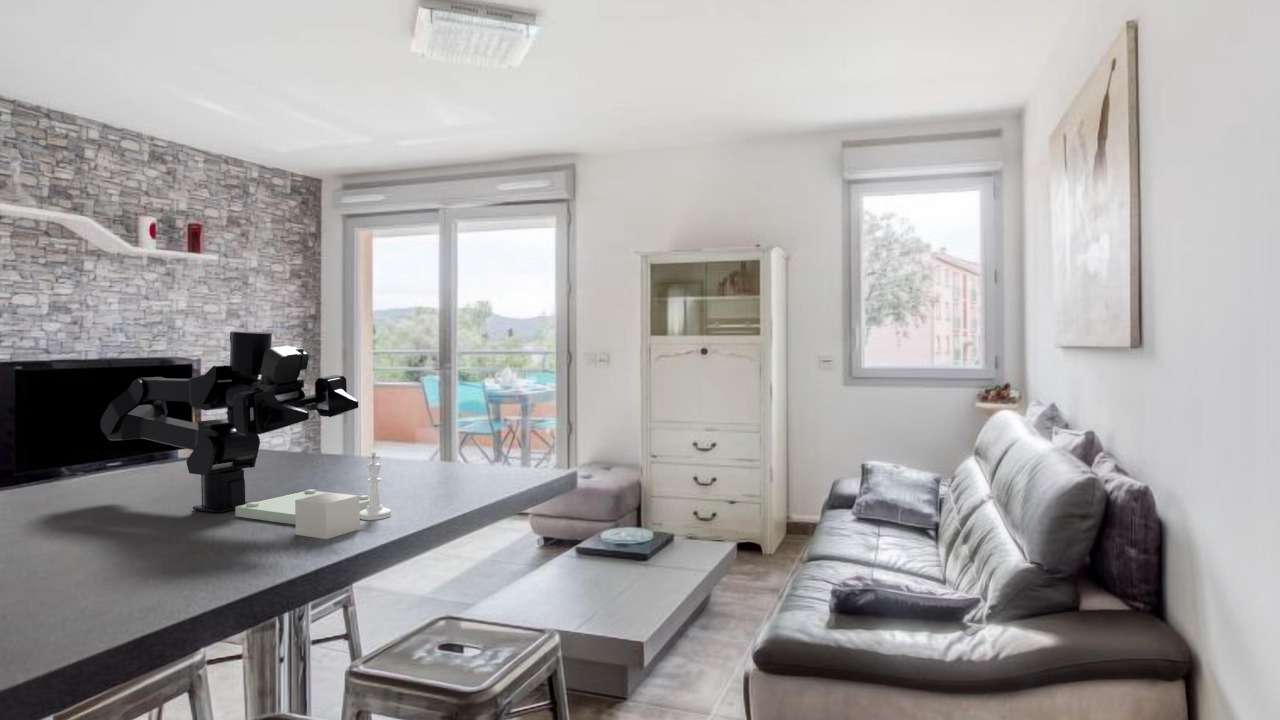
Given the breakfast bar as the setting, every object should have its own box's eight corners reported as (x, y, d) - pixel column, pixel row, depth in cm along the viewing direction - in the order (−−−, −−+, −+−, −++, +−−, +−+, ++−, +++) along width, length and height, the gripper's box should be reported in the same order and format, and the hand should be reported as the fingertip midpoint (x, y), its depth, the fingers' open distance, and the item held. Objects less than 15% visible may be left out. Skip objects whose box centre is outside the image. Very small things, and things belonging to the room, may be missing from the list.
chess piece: (381, 520, 117) (379, 454, 117) (351, 519, 118) (350, 454, 118) (397, 513, 122) (396, 450, 122) (369, 512, 123) (368, 449, 123)
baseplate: (235, 516, 121) (235, 504, 120) (309, 499, 133) (309, 488, 133) (308, 526, 114) (308, 513, 113) (379, 507, 126) (379, 495, 126)
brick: (295, 535, 109) (295, 500, 109) (329, 525, 114) (329, 492, 114) (326, 539, 106) (325, 503, 106) (359, 530, 112) (359, 495, 112)
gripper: (202, 354, 112) (276, 364, 105) (309, 340, 128) (379, 349, 122) (207, 429, 114) (280, 444, 107) (311, 406, 130) (381, 418, 123)
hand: (333, 410), depth 115 cm, fingers open, 9 cm apart
